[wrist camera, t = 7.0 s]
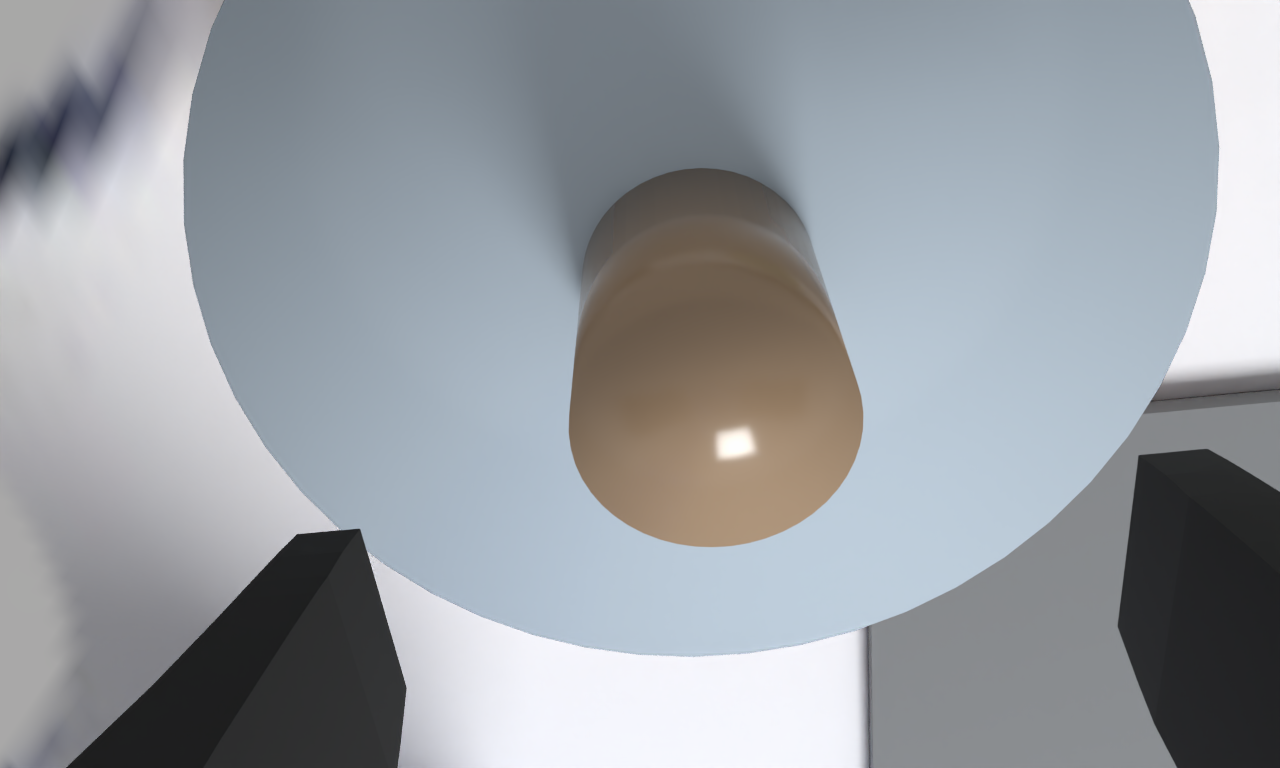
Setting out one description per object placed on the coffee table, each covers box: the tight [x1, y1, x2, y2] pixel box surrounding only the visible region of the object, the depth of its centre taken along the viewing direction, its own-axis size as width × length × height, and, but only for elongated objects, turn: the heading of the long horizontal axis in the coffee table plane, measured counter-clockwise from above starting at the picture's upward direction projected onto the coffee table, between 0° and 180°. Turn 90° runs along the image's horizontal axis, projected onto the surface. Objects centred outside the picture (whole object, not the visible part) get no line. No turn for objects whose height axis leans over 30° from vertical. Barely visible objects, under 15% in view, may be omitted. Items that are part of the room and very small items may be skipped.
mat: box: [868, 390, 1280, 768], centre depth 25 cm, size 14×14×1 cm
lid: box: [184, 0, 1219, 657], centre depth 14 cm, size 13×13×4 cm
